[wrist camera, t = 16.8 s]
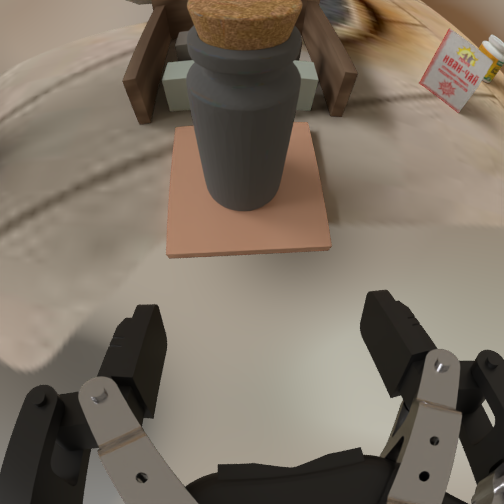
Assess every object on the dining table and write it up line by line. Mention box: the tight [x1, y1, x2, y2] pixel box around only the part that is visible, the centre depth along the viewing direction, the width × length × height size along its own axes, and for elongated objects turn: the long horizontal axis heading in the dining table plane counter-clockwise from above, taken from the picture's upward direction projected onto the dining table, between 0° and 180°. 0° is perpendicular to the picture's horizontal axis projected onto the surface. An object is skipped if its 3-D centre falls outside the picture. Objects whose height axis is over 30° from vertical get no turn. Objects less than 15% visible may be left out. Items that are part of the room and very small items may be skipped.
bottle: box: [186, 0, 302, 211], centre depth 16 cm, size 6×6×15 cm
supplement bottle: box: [479, 35, 504, 83], centre depth 29 cm, size 5×5×10 cm
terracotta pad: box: [166, 122, 332, 258], centre depth 23 cm, size 12×12×1 cm
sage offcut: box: [162, 60, 318, 111], centre depth 25 cm, size 14×3×4 cm, turn 91°
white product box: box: [419, 28, 493, 113], centre depth 25 cm, size 4×7×10 cm, turn 50°
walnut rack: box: [122, 0, 358, 124], centre depth 22 cm, size 21×19×14 cm
